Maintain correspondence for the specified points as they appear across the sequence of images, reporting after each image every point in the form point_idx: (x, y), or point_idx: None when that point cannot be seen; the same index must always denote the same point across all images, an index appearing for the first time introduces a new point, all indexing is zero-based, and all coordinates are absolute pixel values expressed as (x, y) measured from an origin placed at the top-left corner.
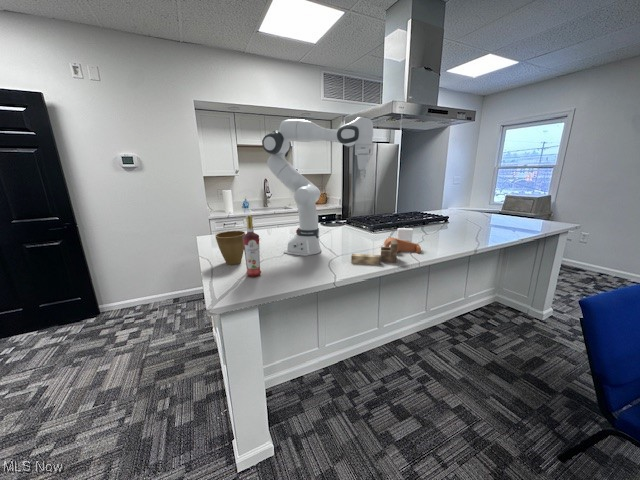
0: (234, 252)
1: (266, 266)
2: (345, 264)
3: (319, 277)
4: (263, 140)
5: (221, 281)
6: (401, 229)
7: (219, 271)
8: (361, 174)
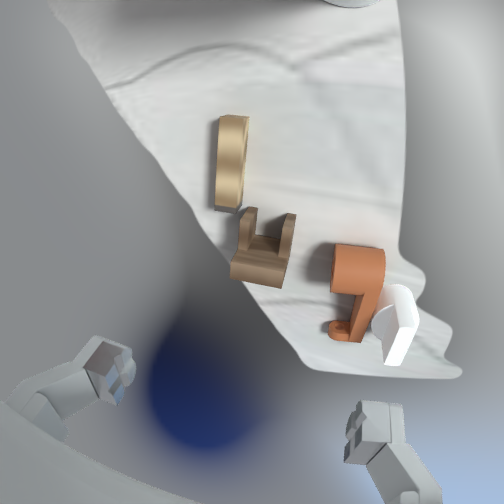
0: None
1: None
2: (211, 97)
3: (115, 49)
4: None
5: None
6: (396, 336)
7: None
8: (60, 376)
